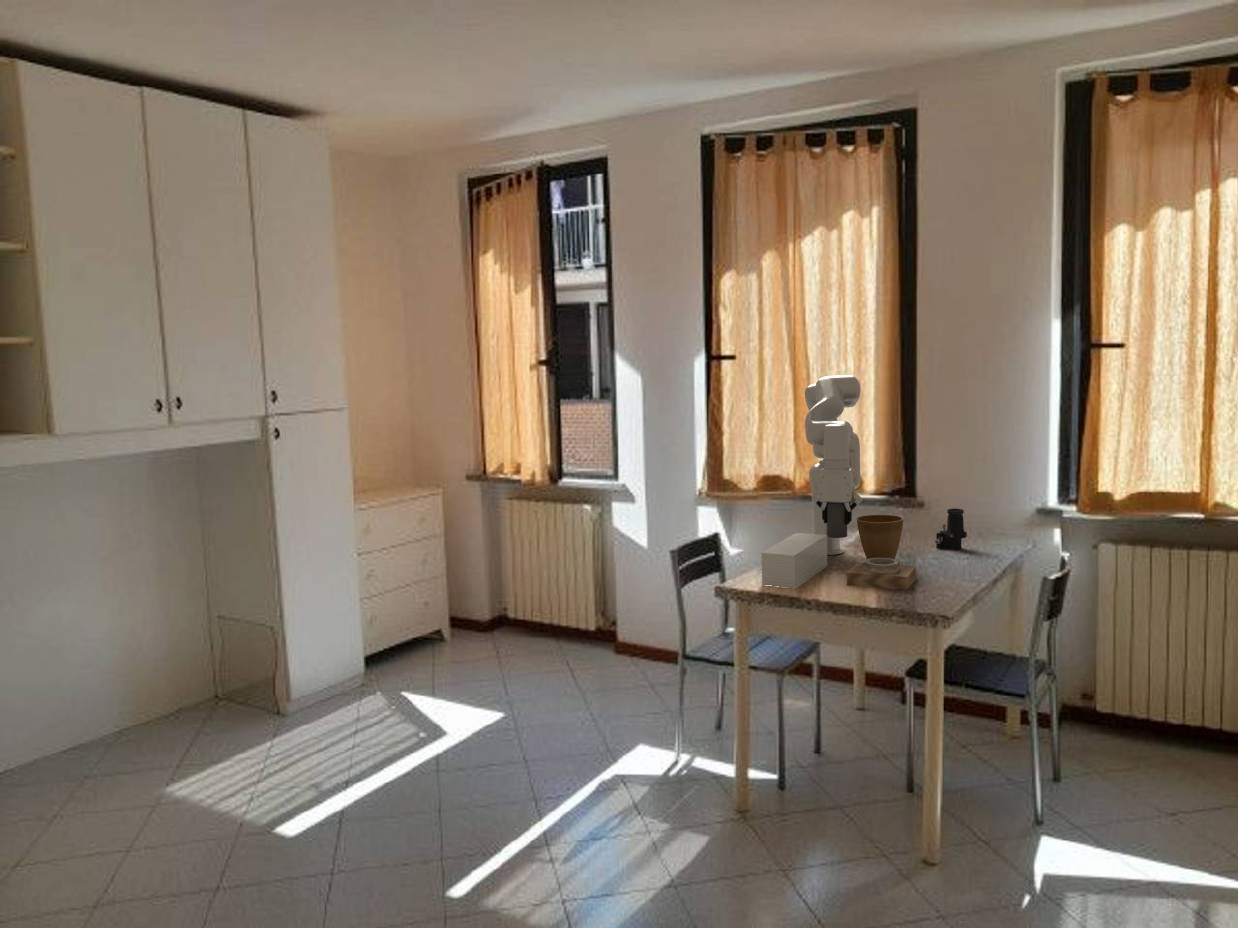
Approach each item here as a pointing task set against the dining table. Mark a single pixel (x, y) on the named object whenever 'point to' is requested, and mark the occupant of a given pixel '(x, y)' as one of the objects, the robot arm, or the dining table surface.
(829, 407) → the robot arm
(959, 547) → the scope
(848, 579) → the wooden block
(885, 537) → the plant pot
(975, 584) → the dining table surface
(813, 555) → the stack of papers
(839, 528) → the lens
